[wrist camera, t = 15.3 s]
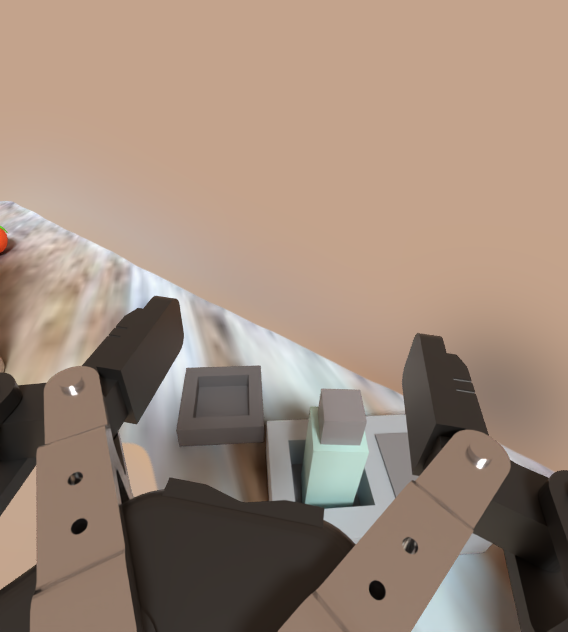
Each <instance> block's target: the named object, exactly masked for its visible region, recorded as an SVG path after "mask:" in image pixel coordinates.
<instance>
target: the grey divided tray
mask: <svg viewBox="0 0 568 632" xmlns="http://www.w3.org/2000/svg"><path fill="white" fill-rule="evenodd" d="M366 420H367V424H366V427H365V435H366V440H367V445H368V450H369V454H368V457H367V460H366V464H365V467H364V470H363V473H362V476H361V479H360V483H359V486H358V489H357V492H356V495H355V498H354V502H353V505H352V507H343V508H329V509H324V520H325V521H327V522H329V523H331V524H333V525H334V526H336V527H337V528H339V529H340V530H341V531H342V532H344V533H345V534H346V535H347V536H348V537H349V538H350V539H351V540H352V541H353V542H354V543H355V544H357V543H358V541H359V540H360V539H361V538H362V537H363V536H364V534H365V533H366V532H367V531H368V530H369V528H370V527H371V526H372V525H373V524H374V523H375V521H376V520H377V519H378V518H379V517H380V516H381V514H382V513H383V512H384V511H385V510H386V509H387V507H388V506H389V505H390V504H391V503H392V502H393V500H394V499H395V498H396V497H397V496H398V495H399V493H400V492H401V491H402V490H403V489H404V488H405V486H406V485H407V484H408V483H409V482H410V481H412V480H414V481H415V480H416V479H417V478H418V477H419V476H416V475H412V468H411V459H410V450H409V441H408V432H407V423H406V414H404V415H382V416H366ZM308 421H309V419H296V420H275V421H267V435H266V459H267V476H268V492H269V501H277V500H288V501H293V502H298V503H302V483H301V472H302V465H303V457H304V450H305V443H306V435H307V428H308ZM492 544H493V543H491V542H489V541H487V540H485V539H483V538H481V537H479V536H477V535H475V534H473V533H472V535H471V536H470V538H469V540H468V541H467V543H466V544H465V546H464V548H463V549H462V551H461V552H460V554H459V555H462V554H473V553H485V551H486V550H487V549H488V548H489V547H490V546H491V545H492Z"/></svg>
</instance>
